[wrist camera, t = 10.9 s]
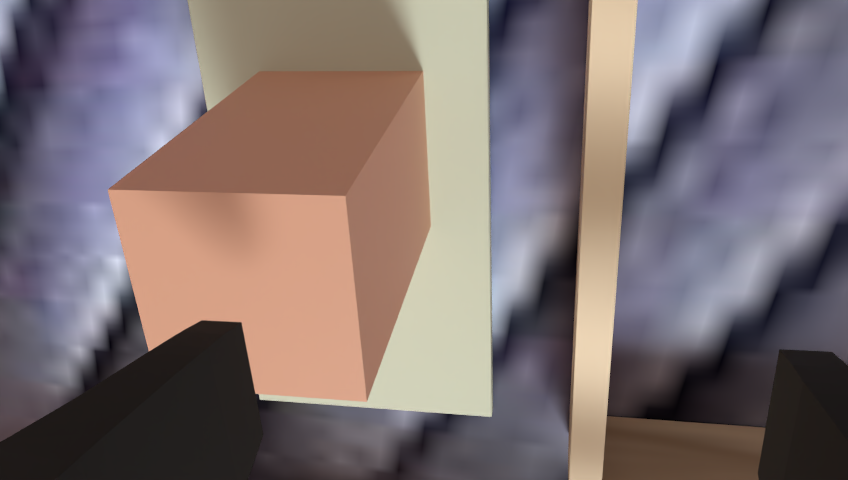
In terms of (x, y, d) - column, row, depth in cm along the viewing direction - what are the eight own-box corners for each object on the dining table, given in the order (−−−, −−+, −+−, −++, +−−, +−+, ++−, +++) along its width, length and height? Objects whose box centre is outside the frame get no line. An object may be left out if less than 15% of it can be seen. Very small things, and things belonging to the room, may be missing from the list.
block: (431, 225, 20) (366, 401, 14) (281, 221, 21) (157, 386, 15) (423, 70, 18) (345, 195, 12) (259, 71, 19) (107, 189, 13)
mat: (492, 407, 23) (491, 416, 23) (264, 391, 24) (260, 399, 24) (486, -231, 16) (484, -232, 15) (158, -209, 17) (149, -210, 16)
